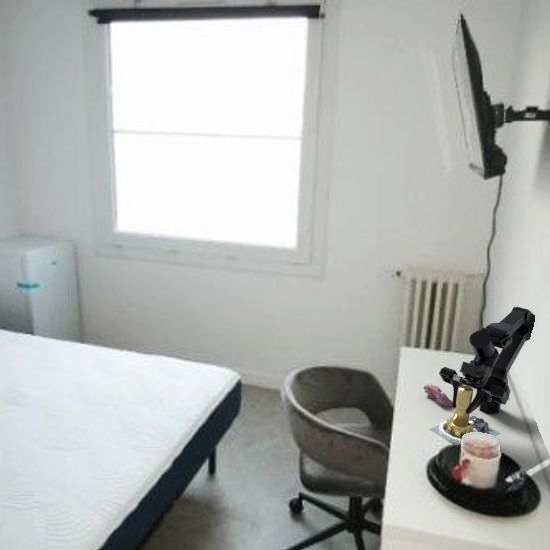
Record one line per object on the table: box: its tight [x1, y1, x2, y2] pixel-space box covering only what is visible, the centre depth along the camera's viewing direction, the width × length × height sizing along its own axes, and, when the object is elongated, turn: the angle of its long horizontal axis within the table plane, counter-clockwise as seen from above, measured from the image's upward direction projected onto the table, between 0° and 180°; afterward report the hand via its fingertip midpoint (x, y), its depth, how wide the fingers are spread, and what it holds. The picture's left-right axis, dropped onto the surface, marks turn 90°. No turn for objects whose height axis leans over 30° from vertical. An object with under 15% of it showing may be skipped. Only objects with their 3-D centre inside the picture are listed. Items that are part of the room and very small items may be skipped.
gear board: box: [429, 419, 501, 446], centre depth 148 cm, size 17×12×2 cm
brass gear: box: [446, 385, 474, 436], centre depth 144 cm, size 7×7×13 cm
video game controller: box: [423, 383, 453, 407], centre depth 165 cm, size 10×5×7 cm, turn 21°
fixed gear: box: [468, 415, 489, 432], centre depth 150 cm, size 7×7×2 cm
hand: (460, 410), depth 143 cm, fingers closed on brass gear, 4 cm apart
